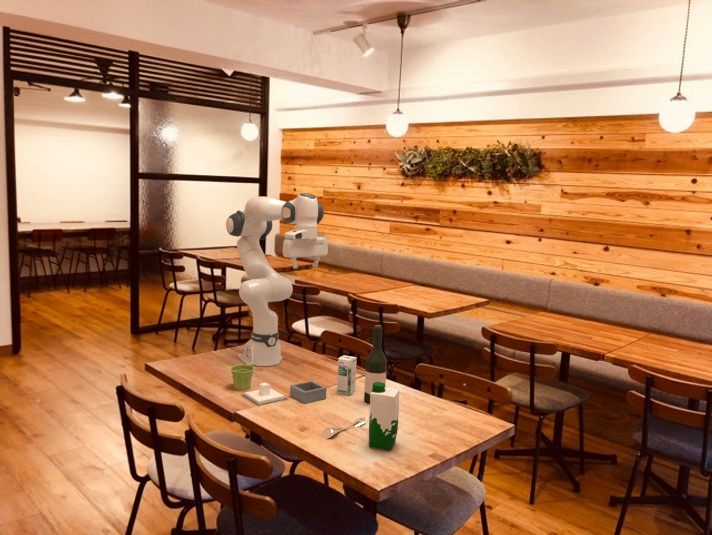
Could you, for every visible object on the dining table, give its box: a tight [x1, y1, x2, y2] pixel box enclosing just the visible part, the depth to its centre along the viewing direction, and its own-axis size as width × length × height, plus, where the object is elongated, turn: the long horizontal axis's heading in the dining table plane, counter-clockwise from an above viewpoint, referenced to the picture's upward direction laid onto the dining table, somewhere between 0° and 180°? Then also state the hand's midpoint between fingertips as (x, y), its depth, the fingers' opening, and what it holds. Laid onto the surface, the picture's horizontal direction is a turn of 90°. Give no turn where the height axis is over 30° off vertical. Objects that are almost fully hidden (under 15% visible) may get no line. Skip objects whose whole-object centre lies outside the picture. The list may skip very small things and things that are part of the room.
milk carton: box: [368, 382, 400, 451], centre depth 192 cm, size 9×9×20 cm
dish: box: [289, 380, 328, 405], centre depth 231 cm, size 10×10×5 cm
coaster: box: [241, 394, 288, 407], centre depth 230 cm, size 13×13×1 cm
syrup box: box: [336, 354, 358, 396], centre depth 240 cm, size 6×6×14 cm
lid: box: [244, 382, 285, 404], centre depth 230 cm, size 11×11×5 cm
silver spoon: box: [321, 417, 366, 440], centre depth 204 cm, size 20×4×5 cm
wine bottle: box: [363, 324, 388, 406], centre depth 230 cm, size 8×8×30 cm
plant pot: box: [229, 364, 255, 391], centre depth 239 cm, size 9×9×9 cm
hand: (305, 267), depth 246 cm, fingers open, 8 cm apart
